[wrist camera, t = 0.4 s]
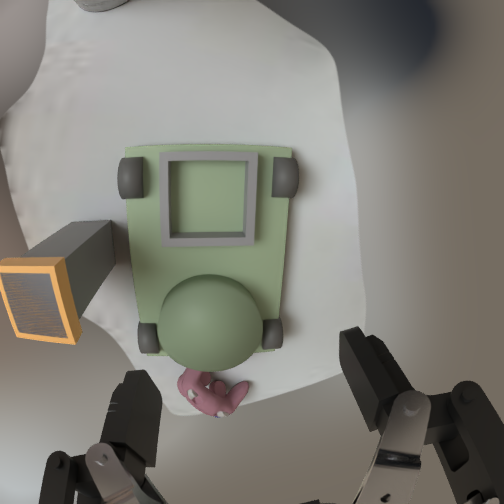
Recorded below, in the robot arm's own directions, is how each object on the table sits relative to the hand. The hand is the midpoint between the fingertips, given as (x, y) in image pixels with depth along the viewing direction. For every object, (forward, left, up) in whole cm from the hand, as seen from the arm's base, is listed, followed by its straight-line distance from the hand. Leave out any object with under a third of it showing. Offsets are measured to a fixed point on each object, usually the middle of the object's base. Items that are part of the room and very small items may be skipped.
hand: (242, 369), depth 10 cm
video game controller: (+21, -1, -21) cm, 29 cm away
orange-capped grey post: (+1, -14, -21) cm, 25 cm away
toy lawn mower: (+3, -1, -21) cm, 21 cm away
